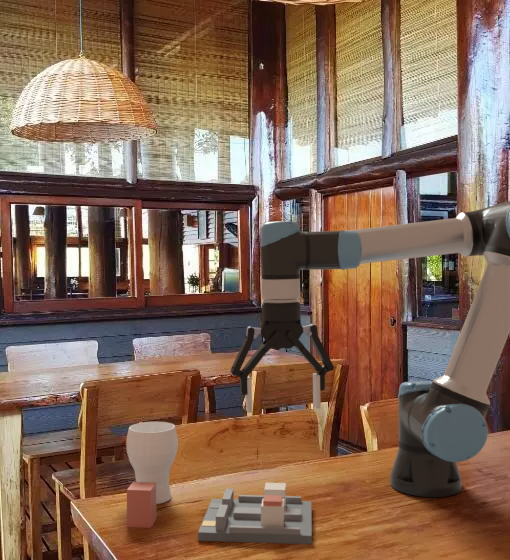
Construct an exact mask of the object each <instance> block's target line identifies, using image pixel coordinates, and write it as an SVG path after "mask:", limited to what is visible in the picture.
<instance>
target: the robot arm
mask: <svg viewBox="0 0 510 560" xmlns="http://www.w3.org/2000/svg"><path fill="white" fill-rule="evenodd" d="M259 247H260V273H261V274H260V275H261V299H262V300H264V301H263V302H262V304H261V320H262V321H261V322H262V323H261V325H260V326H261V327H252V326H250V325H248V326H247V327H246V328H245V338H244V339H243V342H242V344H241V346H240V349H239V351H238V353H237V355H236V357H235V359H234V362H233V364H232V366H231V368H230V374H231V375H233V376H234V377H238V378H239V388H240V389H239V391H240V393H241V396H242V395H243V396H245V410H246V411H247V413H249V414H250V413H253V390H252V384H253V383H252V377H250V374H251V373H252V371H253V370H254V369H255V368H256V367H257V365H258V364H259V362H261V361H262V359H263V357H264V356H265V355H266V354H267V353H268V352H269V351H270V350H271V348H272V349H274V350H281V349H286V350H287V349H289V350H291V349H292V348H293V347H294V348H295V349H296V350H297V351H298V352H299V353H300V355H302V357H303V358H304V359H305V361H306V362H308V364H310V366H311V367H312V368H313V370H315V371H316V372H314V373H312V405H313V407H314V408H316V409H321V391H325V388H326V380H325V379H326V378H325V377H326V375H327V373H328V372H332V371H334V369H335V366H334V364H333V361H331V358H330V356H329V354H328V353H327V350H326V348H325V347H324V345H323V343H322V340H321V339H320V337H319V333H318V326H317V325H316V324H314V323H309V324H308V325H302V323H301V321H302V320H301V319H302V318H301V317H302V316H301V315H302V314H301V312H302V311H301V302H299V301H298V300H299V299H301V283H300V282H301V279H300V278H301V274H300V273H301V270H302V271H309V270H310V271H311V270H313V271H315V270H322V271H323V270H324V271H325V270H342V271H345V270H350V269H353V270H354V269H357V268H358V267H360V265H361V264H362V265H365V264H372V263H382V262H389V261H398V260H406V259H418V258H424V257H433V256H443V255H450V254H460V255H462V256H463V257H465V258H466V257H475V256H479V257H480V256H483V257H484V259H485V261H486V267H485V270H484V273H483V274H482V277H481V280H480V282H479V284H478V287H477V290H476V292H475V295H474V298H473V300H472V302H471V306H470V308H469V310H468V313H467V316H466V318H465V321H464V323H463V326H462V328H461V331H460V332H459V336H458V338H457V340H456V343H455V346H454V348H453V351H452V354H451V356H450V358H449V361H448V363H447V366H446V369H445V371H444V373H443V375H441V376H439V377H436V378H435V379H433V380H432V381H430V380H428V381H426V380H425V381H424V380H423V381H420V380H419V381H405V382H402V383H400V385H399V388H398V395H397V398H398V448H397V449H398V450H397V452H396V457H395V459H394V462H393V465H392V468H391V471H390V474H389V475H390V476H389V477H390V482H389V483H390V486H391V488H393V489H394V490H396V491H397V492H398V491H399V492H401V493H403V494H407V495H409V496H416V497H421V498H444V497H445V498H446V497H451V495H452V496H454V494H455V495H457V494H459V493H460V492H462V488H463V487H462V481H463V480H462V476H461V473H460V469H459V466H458V464H457V463H461V462H464V461H468V460H470V459H473V458H474V457H475V456H477V455H479V453H480V452H481V451H482V449H483V448H484V447H485V445H486V443H487V441H488V435H489V433H488V432H489V430H488V425H487V422H486V419H485V418H486V415H487V413H488V411H489V408H490V406H491V401H490V399H489V397H488V395H487V390H488V388H489V386H490V382H491V380H492V378H493V375H494V372H495V370H496V367H497V364H498V363H499V360H500V357H501V355H502V352H503V349H504V347H505V345H506V342H507V339H508V337H509V334H510V200H509V201H505V202H504V201H503V202H500V203H496V204H494V205H491V206H487V207H484V208H480V209H476V210H472V211H465V212H458V214H457V215H456V217H454V218H445V219H436V220H430V221H429V220H427V221H417V222H412V223H411V222H410V223H402V224H401V223H400V224H393V225H384V226H383V225H382V226H377V227H368V228H358V229H350V230H349V229H347V230H343V229H342V230H323V231H302V230H301V229H300V226H299V223H298V222H297V221H294V220H293V221H286V220H285V221H284V220H283V221H281V220H280V221H268V222H265V223H263V225H261V228H260V245H259ZM303 333H305V335H306V336H308V337H309V339H310V341H311V343H312V345H313V347H314V348H315V350H316V353H317V355H318V356H319V358H320V360H321V362H322V364H323V365H321V364H320V363H319V362H318V360H317V359H316V358H315V356H314V355H312V353H311V352H310V351H309V350H308V348H307V347H305V345H304V344H303V343H302V341H300V338H301V336H302V335H303ZM259 335H261V337H262V338H263V341H262V342H261V343H260V345H259V347H258V348H257V349H256V351H255V352H254V354H253V355H252V356H251V357H250V359H248V362H246V364H245V365H244V366H243V364H244V362H245V359H246V357H247V356H248V353H249V351H250V349H251V347H252V344H253V343H254V340H255V339H257V338H258V336H259ZM242 367H243V368H242ZM241 368H242V369H241Z"/></svg>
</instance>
